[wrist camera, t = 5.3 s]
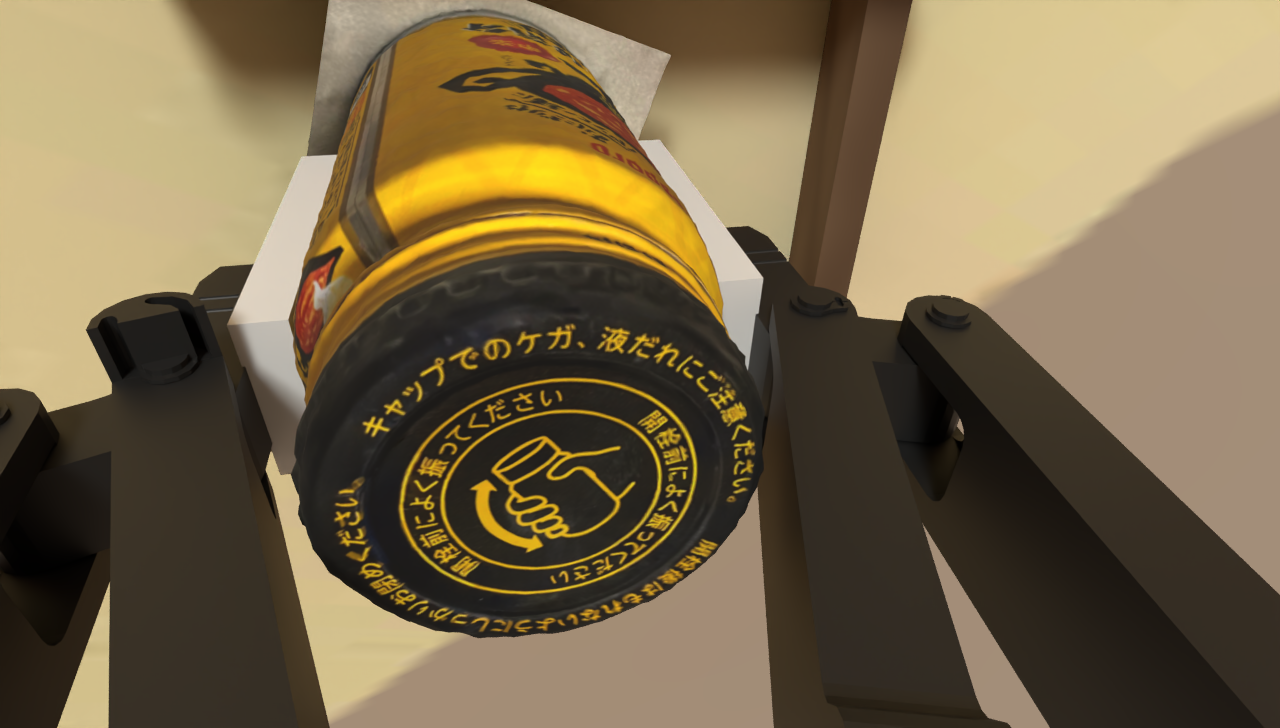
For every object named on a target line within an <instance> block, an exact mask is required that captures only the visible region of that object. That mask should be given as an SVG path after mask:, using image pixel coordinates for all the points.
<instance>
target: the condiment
mask: <svg viewBox="0 0 1280 728" xmlns="http://www.w3.org/2000/svg"><path fill="white" fill-rule="evenodd" d="M670 57H671V55H670V54H667V53H665V52H662V51H660V50H657V49H654V48H651V47H649V46H646V45H644V44H641V43H638V42H636V41H633V40H630V39H627V38H625V37H623V36H621V35H617V34H615V33H612V32H609V31H606V30H604V29H601V28H599V27H596V26H594V25H591V24H588V23H586V22H583V21H580V20H578V19H575V18H573V17H570V16H567V15H564V14H562V13H559V12H557V11H554V10H551V9H549V8H546V7H544V6H541V5H538V4H535V3H533V2H530V1H527V0H329V4H328V11H327V18H326V26H325V33H324V40H323V47H322V54H321V62H320V69H319V76H318V83H317V90H316V97H315V104H314V112H313V119H312V125H311V132H310V138H309V147H308V153H307V156H322V155H337V157H336V161H335V163H334V166H333V171H332V176H331V179H330V182H329V185H328V188H327V191H326V194H325V198H324V201H323V206H322V208H321V210H320V212H319V214H318V221H317V224H316V226H315V228H314V230H313V234H312V238H311V241H310V243H309V249H308V251H307V252H306V255H305V258H304V261H303V267H302V276H301V279H300V283H299V290H298V293H297V296H296V305H295V311H294V316H293V322H294V327H295V328H294V338H293V349H294V353H295V365H296V369H297V372H298V374H299V376H300V378H301V380H302V383H303V385H304V388H305V398H304V401H305V404H306V409H305V411H304V413H303V415H302V417H301V420H300V422H299V424H298V427H297V431H296V438H295V447H294V455H295V458H296V462H295V465H294V467H293V469H292V472H291V476H292V479H293V482H294V485H295V488H296V490H297V493H298V494H299V500H300V505H299V510H298V515H299V517H300V520H301V522H302V525H304V526H305V527H306V530H307V534H308V536H309V539H310V541H311V544H312V547H313V550H314V551H315V552H316V554H317V555H318V556H319V557H320V559H321V560H322V562H323V563H324V565H325V566H326V568H327V570H328V571H329V573H331V574H332V575H334V576H335V577H337V578H339V579H340V580H341V581H342V582H343V583H344V584H346V585H347V586H349V587H350V588H352V589H353V590H355V591H356V592H358V593H359V594H361V595H362V596H364V597H366V598H367V599H369V600H370V601H371V602H372V603H373V604H375V605H377V606H379V607H380V608H382V609H384V610H386V611H388V612H391V613H393V614H395V615H397V616H398V617H400V618H402V619H404V620H406V621H409V622H413V623H416V624H418V625H421V626H424V627H427V628H429V629H432V630H435V631H444V632H460V633H464V634H468V635H471V636H473V637H477V638H485V637H503V636H504V637H505V636H507V637H518V636H524V635H531V634H538V633H547V634H550V633H551V634H553V633H559V632H565V631H568V630H572V629H576V628H579V627H583V626H586V625H589V624H593V623H596V622H600V621H603V620H605V619H608V618H610V617H613V616H615V615H618V614H620V613H622V612H624V611H626V610H629V609H631V608H634V607H635V606H637V605H639V604H642V603H645V602H649V601H651V600H653V599H654V598H656V597H657V596H659V595H660V594H661V593H663V592H665V591H668V590H670V589H671V588H673V587H674V586H675V585H676V583H678V582H680V581H682V580H683V579H684V578H686V577H687V576H688V575H689V574H691V573H692V572H694V571H695V570H696V569H697V568H699V567H700V566H701V565H702V564H703V563H705V562H706V561H707V560H708V559H709V558H710V557H711V556H712V555H714V554H715V553H716V551H717V550H718V548H719V547H720V546H721V545H722V543H723V542H724V541H725V540H726V539H727V537H728V536H729V535H730V533H731V532H732V531H733V530H734V529H735V527H736V526H737V523H738V521H739V519H740V518H741V517H742V516H743V514H744V513H745V511H746V509H747V506H748V503H749V501H750V499H751V497H752V495H753V493H754V491H755V490H756V488H757V485H758V482H759V478H760V475H761V474H762V472H763V471H764V462H763V455H762V428H763V421H764V416H765V410H764V407H763V404H762V402H761V398H760V395H759V391H758V389H757V386H756V384H755V381H754V378H753V376H752V375H751V374H750V372H749V371H748V370H747V367H746V365H745V358H746V356H745V355H744V354H743V353H742V352H741V351H740V350H739V349H738V347H737V345H736V343H734V342H733V341H732V340H731V338H730V337H729V334H728V331H727V328H726V326H725V324H724V322H723V319H722V310H723V305H724V303H723V299H722V295H721V291H720V287H719V283H718V279H717V275H716V271H715V268H714V265H713V262H712V260H711V258H710V256H709V254H708V251H707V247H706V244H705V242H704V241H703V239H702V237H701V236H700V234H699V231H698V229H697V226H696V223H694V222H693V220H692V218H691V217H690V215H689V213H688V211H687V209H686V207H685V205H684V204H683V202H682V201H681V200H680V199H679V198H678V196H677V194H676V193H675V192H674V191H673V189H672V188H671V187H670V186H669V185H668V184H667V183H666V182H665V180H664V179H663V178H662V176H661V174H660V172H659V171H658V170H657V168H656V167H655V165H654V164H653V163H652V161H651V160H650V159H649V158H648V156H647V154H646V152H645V150H644V149H643V148H642V147H641V145H640V144H639V143H638V139H639V136H640V133H641V131H642V128H643V125H644V123H645V120H646V118H647V116H648V113H649V111H650V108H651V104H652V101H653V98H654V96H655V93H656V90H657V87H658V85H659V83H660V80H661V78H662V75H663V72H664V70H665V68H666V65H667V63H668V61H669V59H670Z"/></svg>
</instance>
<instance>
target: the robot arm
mask: <svg viewBox="0 0 1280 728" xmlns="http://www.w3.org/2000/svg"><path fill="white" fill-rule="evenodd" d="M638 143H639V144H640V145H641V147H642V148H643V149H644V150H645V152H646V154H647V156H648V158H649V159H650V160H651V161H652V163H653V164H654V165H655V167H656V168H657V170H658V171H659V172H660V174H661V176H662V178H663V179H664V180H665V182H666V183H667V184H668V185H669V186H670V187H671V188H672V189H673V191H674V192H675V193H676V194H677V196H678V198H679V199H680V200H681V201H682V202H683V204H684V205H685V207H686V209H687V211H688V213H689V215H690V217H691V218H692V220H693V222H694V223H696V226H697V229H698V231H699V234H700V236H701V237H702V239H703V241H704V242H705V244H706V247H707V251H708V254H709V256H710V258H711V260H712V262H713V265H714V268H715V271H716V275H717V279H718V283H719V287H720V291H721V295H722V299H723V303H724V305H723V310H722V319H723V322H724V324H725V326H726V328H727V331H728V334H729V337H730V338H731V340H732V341H733V342H734V343H736V345H737V347H738V349H739V350H740V351H741V352H742V353H743V354H744V355H745V356H746V358H745V365H746V367H747V370H748V371H749V372H750V374H751V375H752V376H753V378H754V381H755V384H756V386H757V389H758V391H759V395H760V398H761V402H762V404H763V407H764V410H765V416H764V421H763V428H762V455H763V462H764V471H763V472H762V474H761V475H760V478H759V482H758V485H757V486H758V500H759V515H760V530H761V543H762V544H761V545H762V557H763V558H762V559H763V574H764V589H765V604H766V618H767V633H768V648H769V662H770V677H771V692H772V707H773V719H774V720H773V722H774V728H1011V727H1010V725H1009V724H1008V723H1005V722H1001V721H997V720H993V719H989V718H987V716H986V715H985V714H984V712H983V711H982V710H981V707H980V705H979V703H978V700H977V698H976V695H975V692H974V689H973V686H972V682H971V679H970V676H969V673H968V669H967V666H966V663H965V660H964V657H963V653H962V650H961V647H960V644H959V640H958V637H957V634H956V631H955V628H954V624H953V621H952V618H951V615H950V612H949V608H948V605H947V602H946V599H945V595H944V592H943V589H942V586H941V582H940V579H939V576H938V573H937V570H936V566H935V563H934V560H933V557H932V553H931V550H930V547H929V544H928V541H927V537H926V534H925V531H924V528H923V525H924V526H925V528H926V529H927V531H928V532H929V534H930V536H931V538H932V539H933V541H934V542H935V544H936V546H937V547H938V549H939V550H940V552H941V554H942V555H943V557H944V558H945V560H946V562H947V563H948V565H949V566H950V568H951V570H952V571H953V573H954V574H955V576H956V577H957V579H958V581H959V582H960V584H961V586H962V587H963V589H964V590H965V592H966V594H967V595H968V597H969V599H970V600H971V601H972V603H973V605H974V607H975V608H976V609H977V611H978V613H979V615H980V616H981V618H982V619H983V621H984V622H985V624H986V625H987V627H988V629H989V630H990V632H991V634H992V635H993V637H994V639H995V640H996V642H997V643H998V645H999V647H1000V648H1001V650H1002V651H1003V653H1004V655H1005V656H1006V658H1007V659H1008V661H1009V662H1010V664H1011V666H1012V667H1013V669H1014V671H1015V672H1016V674H1017V675H1018V677H1019V679H1020V680H1021V682H1022V683H1023V685H1024V687H1025V688H1026V690H1027V691H1028V693H1029V695H1030V696H1031V698H1032V699H1033V701H1034V703H1035V704H1036V706H1037V707H1038V709H1039V711H1040V712H1041V714H1042V716H1043V717H1044V719H1045V720H1046V722H1047V723H1048V725H1049V727H1050V728H1280V595H1279V594H1278V593H1277V592H1276V591H1275V590H1274V589H1273V588H1272V587H1271V586H1270V585H1269V584H1268V583H1267V582H1266V581H1265V580H1264V579H1263V578H1262V577H1261V576H1260V575H1258V574H1257V573H1256V572H1255V571H1254V570H1253V569H1252V568H1251V567H1250V566H1249V565H1248V564H1247V563H1246V562H1245V561H1244V560H1243V559H1242V558H1241V557H1239V555H1238V554H1237V553H1235V552H1234V551H1233V550H1232V549H1231V548H1230V547H1229V546H1228V545H1227V544H1226V543H1225V542H1224V541H1223V540H1222V539H1221V538H1220V537H1219V536H1218V535H1217V534H1216V533H1215V532H1214V531H1213V530H1212V529H1210V528H1209V527H1208V526H1207V525H1206V524H1205V523H1204V522H1203V521H1202V520H1201V519H1200V518H1199V517H1198V516H1197V515H1196V514H1195V513H1194V512H1193V511H1192V510H1191V509H1190V508H1188V506H1186V505H1185V504H1184V503H1183V502H1182V501H1181V500H1180V499H1179V498H1178V497H1177V496H1176V495H1175V494H1174V493H1173V492H1172V491H1171V490H1170V489H1169V488H1168V487H1167V486H1166V485H1165V484H1164V483H1162V481H1160V480H1159V479H1158V478H1157V477H1156V476H1155V475H1154V474H1153V473H1152V472H1151V471H1150V470H1149V469H1148V468H1147V467H1146V466H1145V465H1144V464H1143V463H1142V462H1141V461H1140V460H1139V459H1138V458H1137V457H1135V456H1134V455H1133V454H1132V453H1131V452H1130V451H1129V450H1128V449H1127V448H1126V447H1125V446H1124V445H1123V444H1122V443H1121V442H1120V441H1119V440H1118V439H1117V438H1116V437H1114V435H1112V434H1111V433H1110V432H1109V431H1108V430H1107V429H1106V428H1105V427H1104V426H1103V425H1102V424H1101V423H1100V422H1099V421H1098V420H1097V419H1096V418H1095V417H1094V416H1093V415H1092V414H1090V413H1089V411H1088V410H1086V409H1085V408H1084V407H1083V406H1082V405H1081V404H1080V403H1079V402H1078V401H1077V400H1076V399H1075V398H1074V397H1073V396H1072V395H1071V394H1070V393H1069V392H1068V391H1066V389H1065V388H1063V387H1062V386H1061V385H1060V384H1059V383H1058V382H1057V381H1056V380H1055V379H1054V378H1053V377H1052V376H1051V375H1050V374H1049V373H1048V372H1047V371H1046V370H1045V369H1044V368H1043V367H1042V366H1040V365H1039V363H1037V362H1036V361H1035V360H1034V359H1033V358H1032V357H1031V356H1030V355H1029V354H1028V353H1027V352H1026V351H1025V350H1024V349H1023V348H1022V347H1021V346H1020V345H1019V344H1018V343H1016V341H1014V339H1012V338H1011V337H1010V336H1009V335H1008V334H1007V333H1006V332H1005V331H1004V330H1003V329H1002V328H1001V327H1000V326H999V325H998V324H997V323H996V322H995V321H993V319H992V318H991V317H989V316H988V315H987V314H986V313H985V312H983V311H982V310H981V309H979V308H978V307H976V306H975V305H972V304H970V303H967V302H965V301H963V300H962V299H959V298H956V297H953V298H951V296H945V295H941V296H930V295H928V296H923V297H917V298H915V299H913V300H911V301H910V302H908V303H907V306H906V309H905V313H904V316H903V320H902V321H894V320H883V319H871V318H864V317H858V315H857V312H856V309H855V307H854V305H853V304H852V303H851V301H850V300H849V299H847V298H846V297H844V296H843V295H841V294H840V293H838V292H835V291H832V290H829V289H826V288H822V287H815V286H809V285H808V284H807V283H806V282H805V280H804V279H803V278H802V277H801V276H800V274H799V273H798V272H797V271H796V270H795V269H794V267H793V266H792V265H791V264H790V263H789V262H787V261H786V260H787V259H786V258H785V257H784V255H783V254H782V253H781V252H780V251H779V252H778V248H777V247H776V246H775V245H774V244H773V242H772V241H771V240H770V239H769V238H768V236H766V235H764V234H762V233H760V232H758V231H757V230H755V229H753V228H751V227H749V226H743V227H729V228H726V227H725V226H724V225H723V223H722V222H721V221H720V219H719V218H718V217H717V215H716V214H715V213H714V211H713V210H712V209H711V207H710V206H709V205H708V203H707V202H706V201H705V199H704V198H703V197H702V195H701V194H700V193H699V191H698V190H697V189H696V187H695V186H694V185H693V183H692V182H691V181H690V179H689V178H688V177H687V175H686V174H685V173H684V171H683V170H682V169H681V167H680V166H679V165H678V163H677V162H676V161H675V159H674V158H673V157H672V155H671V154H670V153H669V151H668V150H667V149H666V147H665V146H664V145H663V143H662V142H661V141H660V140H641V141H638ZM336 157H337V155H322V156H302V157H301V159H300V161H299V163H298V166H297V168H296V170H295V172H294V175H293V177H292V179H291V182H290V184H289V186H288V188H287V191H286V193H285V195H284V197H283V200H282V202H281V204H280V206H279V209H278V211H277V213H276V215H275V218H274V220H273V222H272V224H271V227H270V229H269V231H268V233H267V236H266V238H265V240H264V243H263V245H262V247H261V249H260V252H259V254H258V256H257V258H256V261H255V263H254V264H251V265H237V266H223V267H219V268H218V269H217V270H215V271H214V272H213V273H211V274H210V275H208V276H207V277H206V278H204V279H203V280H202V281H200V282H199V284H198V286H197V288H196V289H195V291H194V293H193V295H190V294H187V293H179V292H161V293H153V294H145V295H142V296H138V297H134V298H131V299H127V300H124V301H121V302H119V303H117V304H115V305H113V306H111V307H108V308H106V309H104V310H103V311H102V312H100V313H99V314H98V315H96V316H95V317H94V318H93V319H91V321H90V323H89V325H88V327H87V329H86V331H87V333H88V335H89V337H90V339H91V341H92V343H93V345H94V347H95V349H96V351H97V353H98V355H99V357H100V360H101V362H102V364H103V366H104V368H105V370H106V372H107V374H108V376H109V378H110V380H111V382H112V394H110V395H108V396H105V397H102V398H99V399H96V400H92V401H89V402H85V403H82V404H78V405H74V406H70V407H67V408H63V409H59V410H55V411H52V412H48V413H47V411H46V409H45V407H44V406H43V404H42V402H41V401H40V399H39V398H38V397H37V396H36V395H35V393H34V392H30V391H26V390H22V389H19V388H18V389H0V728H57V726H58V724H59V721H60V718H61V715H62V712H63V710H64V707H65V704H66V701H67V699H68V696H69V693H70V690H71V687H72V685H73V682H74V679H75V676H76V674H77V671H78V668H79V665H80V663H81V660H82V657H83V654H84V651H85V649H86V646H87V643H88V640H89V638H90V635H91V632H92V629H93V626H94V624H95V621H96V618H97V615H98V613H99V610H100V607H101V604H102V602H103V599H104V596H105V593H106V590H107V588H108V585H109V582H110V636H109V728H330V727H329V723H328V719H327V715H326V710H325V706H324V702H323V698H322V694H321V689H320V685H319V681H318V677H317V673H316V668H315V664H314V660H313V656H312V652H311V647H310V643H309V639H308V635H307V631H306V626H305V622H304V618H303V614H302V609H301V605H300V601H299V597H298V593H297V588H296V584H295V580H294V576H293V572H292V567H291V563H290V559H289V555H288V551H287V546H286V542H285V538H284V534H283V530H282V525H281V521H280V517H279V513H278V509H277V504H276V500H275V496H274V492H273V489H272V486H271V483H270V481H269V478H268V475H267V473H266V470H265V469H266V466H267V462H268V458H269V455H270V451H271V450H272V452H273V455H274V458H275V461H276V464H277V466H278V469H279V472H280V475H284V474H291V472H292V469H293V467H294V465H295V462H296V458H295V455H294V447H295V438H296V431H297V427H298V424H299V422H300V420H301V417H302V415H303V413H304V411H305V409H306V404H305V401H304V398H305V388H304V385H303V383H302V380H301V378H300V376H299V374H298V372H297V369H296V365H295V353H294V349H293V338H294V328H295V327H294V322H293V316H294V311H295V305H296V296H297V293H298V290H299V283H300V279H301V276H302V267H303V261H304V258H305V255H306V252H307V251H308V249H309V243H310V241H311V238H312V234H313V230H314V228H315V226H316V224H317V221H318V214H319V212H320V210H321V208H322V206H323V201H324V198H325V194H326V191H327V188H328V185H329V182H330V179H331V176H332V171H333V166H334V163H335V161H336ZM959 418H960V419H961V422H962V425H963V429H964V435H963V434H962V432H961V431H960V430H959V429H958V427H957V424H958V421H959ZM922 523H923V524H922Z"/></svg>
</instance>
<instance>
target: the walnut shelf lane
mask: <svg viewBox="0 0 1280 728" xmlns="http://www.w3.org/2000/svg"><path fill="white" fill-rule="evenodd" d="M911 4H912V0H832V1H831V8H830V14H829V20H828V26H827V32H826V38H825V44H824V51H823V57H822V63H821V69H820V75H819V81H818V87H817V93H816V100H815V106H814V112H813V118H812V124H811V130H810V136H809V143H808V149H807V155H806V161H805V167H804V173H803V179H802V186H801V192H800V198H799V204H798V210H797V216H796V222H795V229H794V235H793V241H792V247H791V253H790V259H789V263H790V264H791V265H792V266H793V267H794V269H795V270H796V271H797V272H798V273H799V274H800V276H801V277H802V278H803V279H804V280H805V282H806V283H807V284H808V285H809V286H815V287H822V288H826V289H829V290H832V291H835V292H838V293H840V294H841V295H843V296H844V297H846V298H847V293H848V289H849V284H850V280H851V275H852V271H853V266H854V262H855V257H856V253H857V248H858V244H859V239H860V235H861V230H862V225H863V221H864V216H865V212H866V207H867V203H868V198H869V194H870V189H871V185H872V180H873V176H874V171H875V167H876V162H877V158H878V153H879V149H880V144H881V140H882V135H883V130H884V126H885V121H886V117H887V112H888V108H889V103H890V99H891V94H892V90H893V85H894V81H895V76H896V72H897V67H898V63H899V58H900V54H901V49H902V45H903V40H904V35H905V31H906V26H907V22H908V17H909V13H910V8H911ZM271 451H272V450H271ZM271 451H270V452H271Z"/></svg>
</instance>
